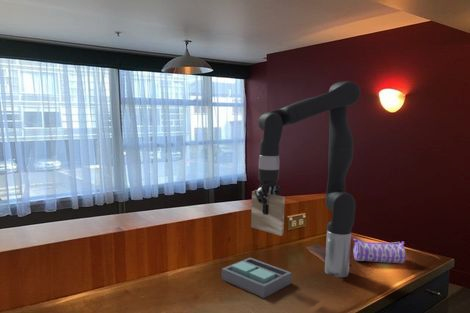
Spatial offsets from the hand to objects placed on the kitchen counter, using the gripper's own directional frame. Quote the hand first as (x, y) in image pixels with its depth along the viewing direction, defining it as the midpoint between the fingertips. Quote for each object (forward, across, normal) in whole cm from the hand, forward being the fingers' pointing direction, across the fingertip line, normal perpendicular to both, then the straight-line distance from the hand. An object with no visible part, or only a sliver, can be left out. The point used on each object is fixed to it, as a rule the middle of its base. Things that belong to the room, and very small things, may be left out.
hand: (267, 213), depth 139 cm
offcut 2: (+24, -8, -4) cm, 26 cm away
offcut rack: (+26, -5, 0) cm, 26 cm away
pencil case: (+26, +51, -23) cm, 62 cm away
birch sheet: (+7, 0, 0) cm, 7 cm away
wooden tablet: (+27, +40, -3) cm, 48 cm away
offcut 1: (+24, -8, +4) cm, 26 cm away
